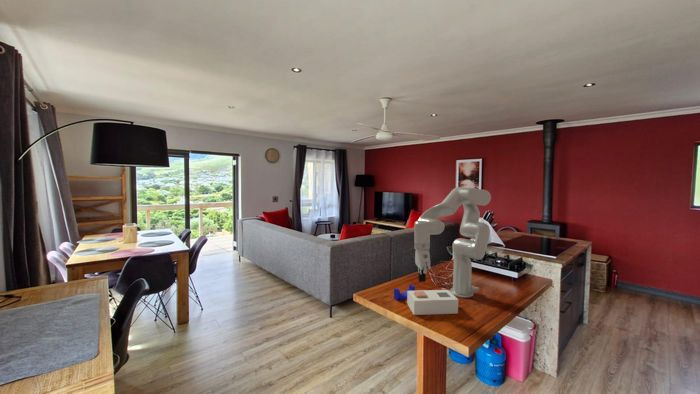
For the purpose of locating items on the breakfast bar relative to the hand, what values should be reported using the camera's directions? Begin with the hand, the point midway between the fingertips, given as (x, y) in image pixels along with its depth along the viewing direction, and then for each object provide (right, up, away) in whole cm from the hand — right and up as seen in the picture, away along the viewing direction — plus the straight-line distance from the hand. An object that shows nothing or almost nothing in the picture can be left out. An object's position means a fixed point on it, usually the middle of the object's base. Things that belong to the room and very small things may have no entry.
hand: (421, 281), depth 144 cm
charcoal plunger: (+11, -14, +2) cm, 18 cm away
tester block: (+5, -14, +1) cm, 15 cm away
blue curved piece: (-7, -14, +14) cm, 21 cm away
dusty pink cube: (-1, -13, +1) cm, 13 cm away
